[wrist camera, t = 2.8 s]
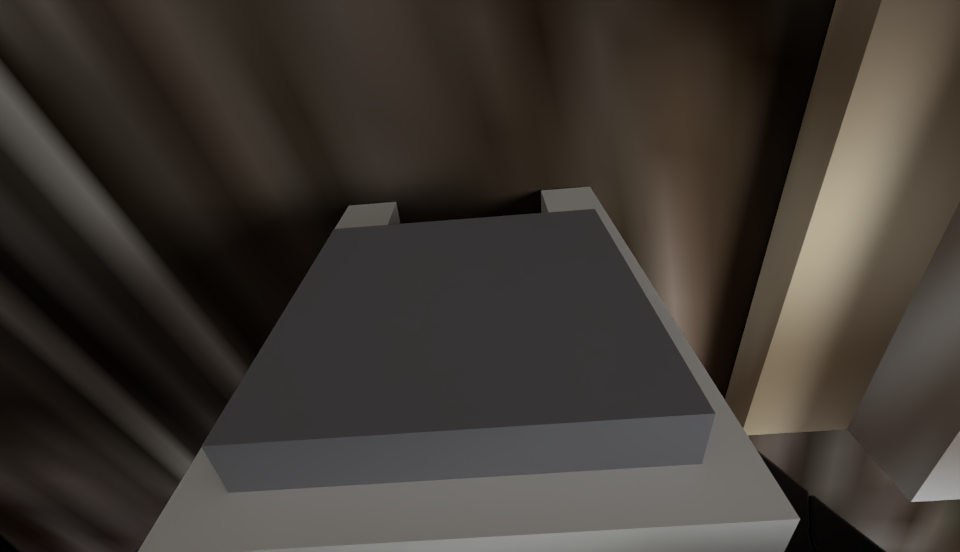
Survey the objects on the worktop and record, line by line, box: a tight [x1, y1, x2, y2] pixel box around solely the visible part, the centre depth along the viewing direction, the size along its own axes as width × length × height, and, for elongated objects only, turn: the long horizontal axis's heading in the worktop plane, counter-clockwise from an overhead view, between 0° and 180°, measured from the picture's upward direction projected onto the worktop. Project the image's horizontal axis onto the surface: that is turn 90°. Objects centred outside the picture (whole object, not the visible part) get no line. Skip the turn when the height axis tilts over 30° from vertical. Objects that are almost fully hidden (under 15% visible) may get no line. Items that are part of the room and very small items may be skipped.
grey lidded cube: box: [138, 187, 800, 552], centre depth 8 cm, size 6×5×7 cm
